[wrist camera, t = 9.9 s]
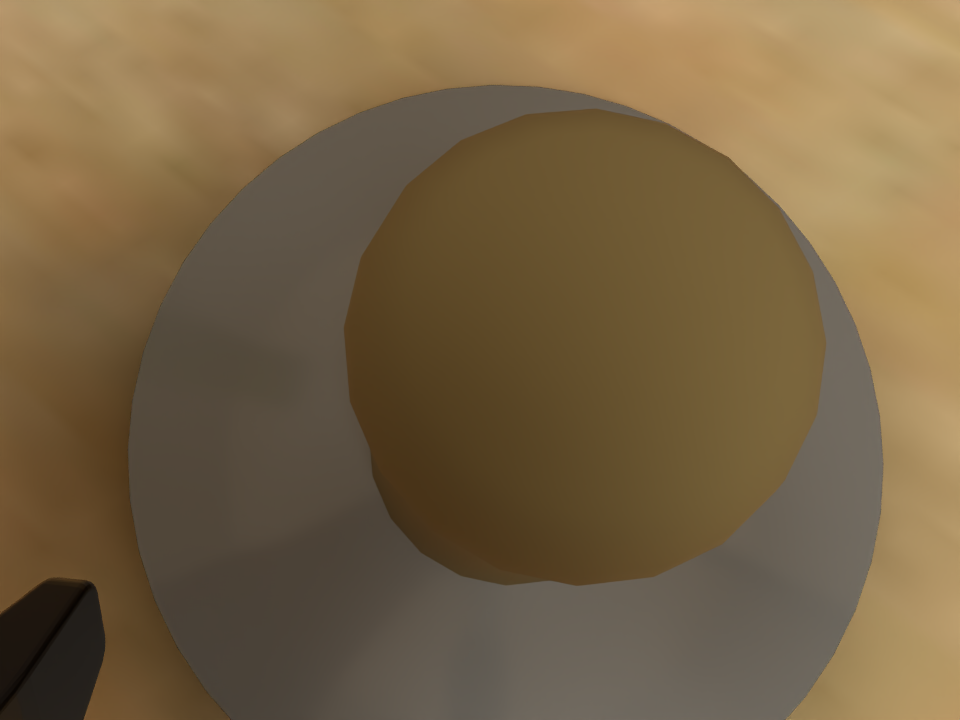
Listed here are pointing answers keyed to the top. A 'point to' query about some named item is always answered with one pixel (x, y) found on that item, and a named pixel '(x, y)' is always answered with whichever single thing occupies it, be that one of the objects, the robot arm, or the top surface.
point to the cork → (581, 351)
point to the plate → (379, 541)
